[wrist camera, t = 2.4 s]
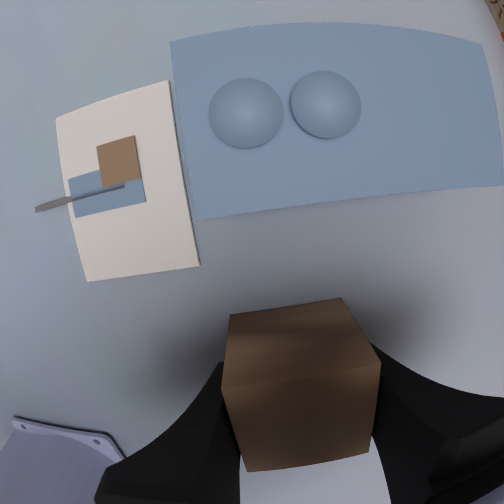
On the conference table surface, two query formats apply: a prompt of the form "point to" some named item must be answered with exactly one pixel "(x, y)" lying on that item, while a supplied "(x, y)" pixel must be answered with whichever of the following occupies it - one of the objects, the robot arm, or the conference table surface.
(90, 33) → the conference table surface
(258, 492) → the conference table surface
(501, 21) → the stack of blocks
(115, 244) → the page
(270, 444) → the walnut brick
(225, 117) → the base brick
